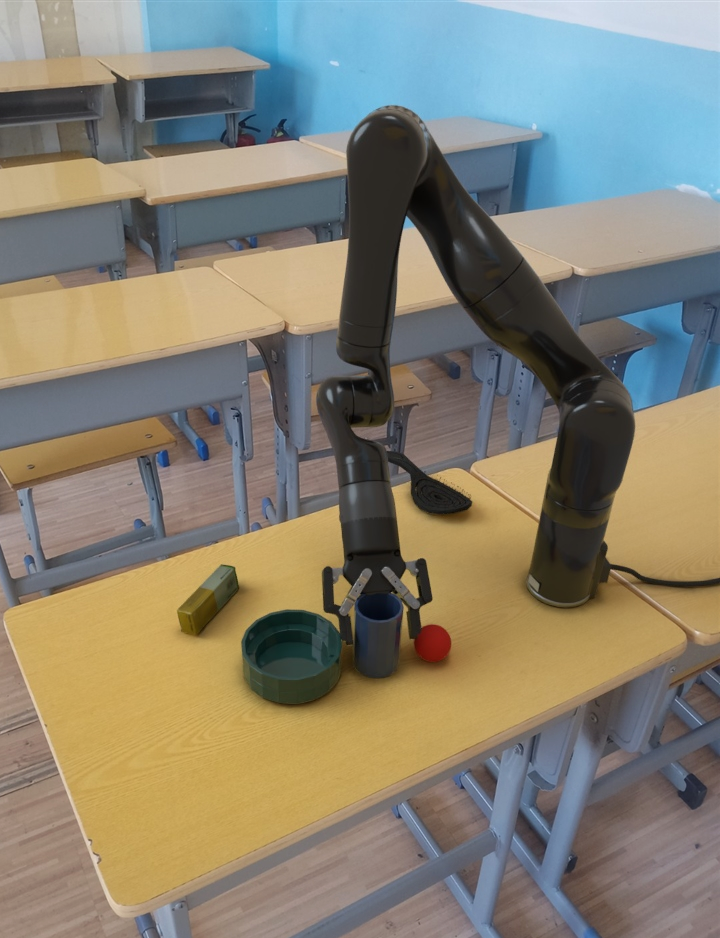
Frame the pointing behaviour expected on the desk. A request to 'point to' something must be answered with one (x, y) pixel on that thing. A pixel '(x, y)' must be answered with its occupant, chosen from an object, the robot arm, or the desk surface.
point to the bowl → (291, 656)
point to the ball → (433, 643)
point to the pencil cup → (377, 634)
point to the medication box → (208, 599)
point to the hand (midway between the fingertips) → (382, 642)
